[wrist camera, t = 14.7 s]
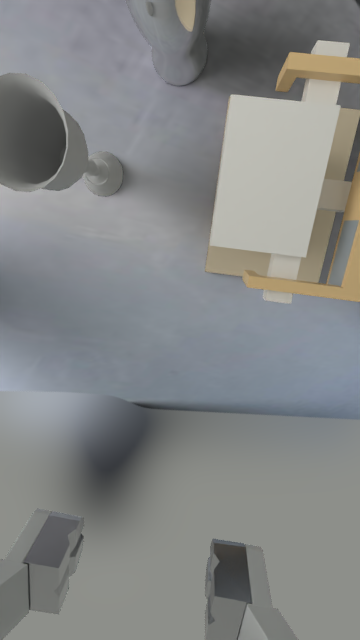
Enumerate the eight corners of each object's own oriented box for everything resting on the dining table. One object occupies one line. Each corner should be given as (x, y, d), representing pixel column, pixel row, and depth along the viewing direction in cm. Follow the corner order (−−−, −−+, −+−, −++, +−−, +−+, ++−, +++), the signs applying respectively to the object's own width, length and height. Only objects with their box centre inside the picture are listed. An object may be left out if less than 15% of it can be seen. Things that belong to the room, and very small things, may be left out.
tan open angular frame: (242, 279, 31) (247, 287, 28) (277, 76, 26) (289, 51, 22) (341, 292, 31) (360, 301, 27) (397, 88, 26) (429, 65, 22)
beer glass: (224, 59, 35) (235, -56, 20) (173, 105, 36) (150, 28, 22) (186, -2, 33) (169, -173, 19) (135, 48, 35) (85, -74, 21)
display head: (204, 272, 41) (202, 295, 28) (228, 98, 36) (241, 23, 22) (313, 286, 41) (364, 316, 27) (355, 111, 35) (447, 41, 22)
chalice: (123, 212, 40) (60, 202, 23) (71, 198, 40) (-30, 178, 23) (135, 149, 38) (75, 86, 21) (80, 134, 38) (-25, 60, 21)
